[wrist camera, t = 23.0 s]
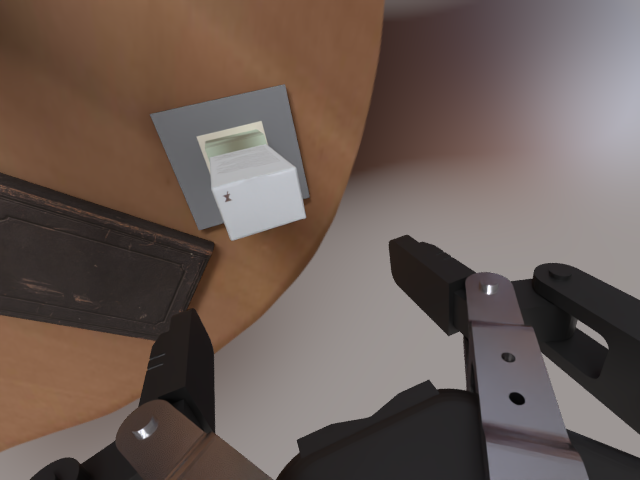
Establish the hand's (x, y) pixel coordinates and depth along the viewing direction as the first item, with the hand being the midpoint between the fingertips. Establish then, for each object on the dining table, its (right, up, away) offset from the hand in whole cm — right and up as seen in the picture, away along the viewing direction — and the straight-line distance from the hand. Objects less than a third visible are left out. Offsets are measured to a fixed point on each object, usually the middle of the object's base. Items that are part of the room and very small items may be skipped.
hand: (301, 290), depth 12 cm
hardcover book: (-27, -1, +27) cm, 38 cm away
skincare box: (-7, +9, +20) cm, 23 cm away
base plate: (-9, +12, +26) cm, 30 cm away
